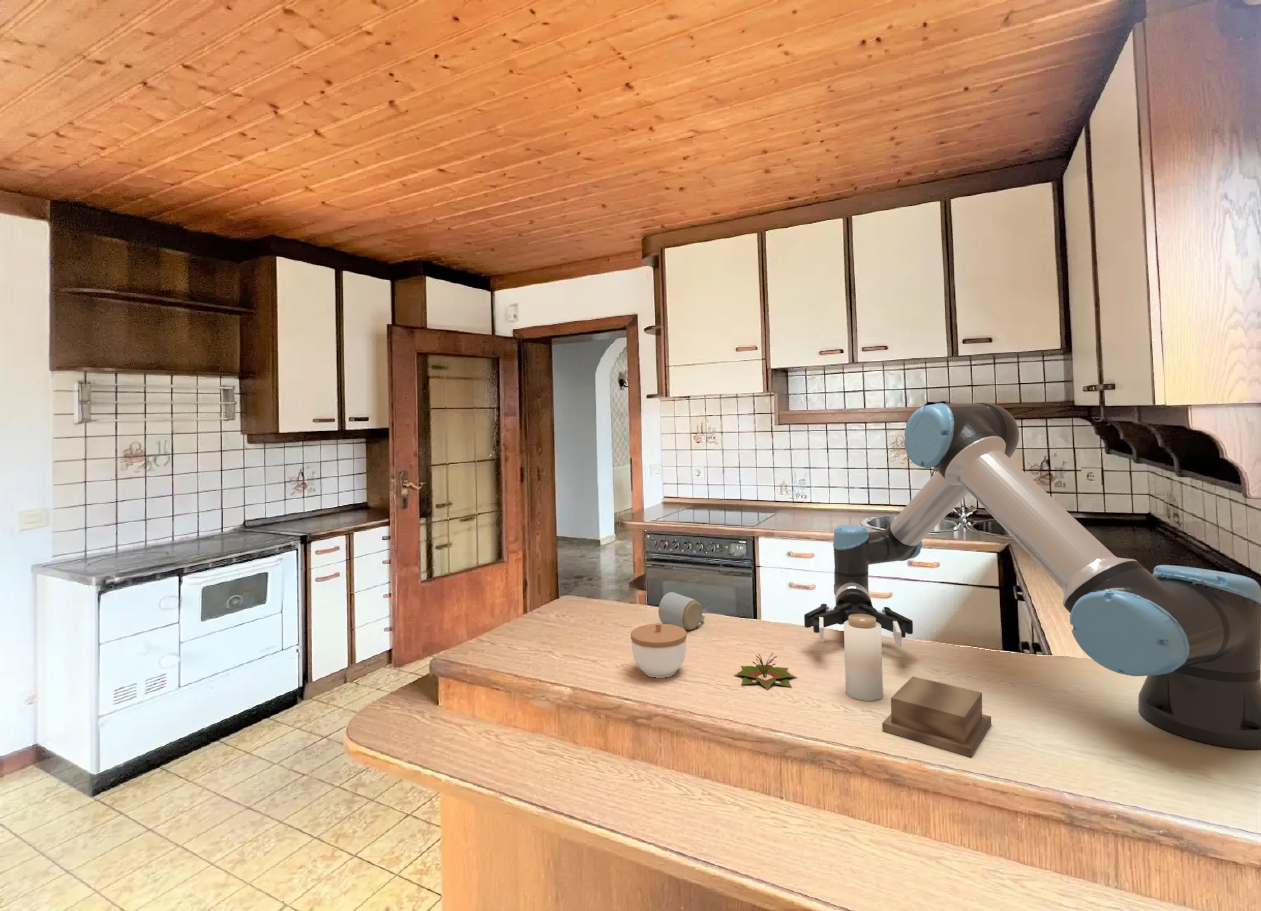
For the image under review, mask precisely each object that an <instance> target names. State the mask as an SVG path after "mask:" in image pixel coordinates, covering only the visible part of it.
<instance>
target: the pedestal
mask: <svg viewBox="0 0 1261 911" xmlns="http://www.w3.org/2000/svg"><path fill="white" fill-rule="evenodd" d="M890 709H891V710H890V712H891V713H890V714H889V715H888V716H887V717H886V719H884V721H883V722H882V723H881V725H882V727H881V728H882V730H881V731H883V732H885V733H889V734H890V735H891V734H892V735H895V736H899V737H902V738H906V739H908V740H912V741H915V742H918V743H921V744H925V745H929V746H932V747H935V748H938V749H941V750H945V751H949V752H952V753H955V754H959V755H963V756H966V757H968V758H972V757H973V755H974V754H975V751H976V750H977V749H978V746H979V745H980V743H981V742H982V740H983V738H984V737H985V735H986V734H987V732H988V730H989V728H990V727H991V726H992V716H991V715H986V714H984V713H983V692H981V691H977V690H972V689H970V688H969V689H968V688H966V687H965V688H964V687H960V686H957V685H952V684H948V683H947V684H946V683H942V682H938V681H934V680H930V679H926V678H922V677H917V676H911V677H910V678H909V679H908V680H907V681H906V682H905V683H904V684H903V685H902V686H901V687H900V689H898V690H897V691H896V692H895V693H894V694H893V695H892V696H891V697H890Z"/></svg>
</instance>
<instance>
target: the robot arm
mask: <svg viewBox="0 0 1261 911" xmlns="http://www.w3.org/2000/svg"><path fill="white" fill-rule="evenodd" d="M903 435H904V440H903V444H904V449H905V450H904V451H905V453H906V455H907V457H908V458H909V460H910V461H911V462H912V463H913V464H914V465H916V466H918V467H921V468H924V469H931V468H933V469H935V473H934V474H933V475H932V476H931V477H930V478H929V480H928V481H927V482H926V483H925V484H924V485H923V487H921V489H920V490H919V491H918V492H917V493H916V495H915V496H913V498H912V499H911V500H910V501H909V502H908V503H907V504H906V505H905V506H904V508H903V509H902V510H901V511H900V512H899V514H897V516H896V517H895V518H893V521H892V522H891V523H890V524H889V525H888V526H887V527H886V528H885V529H883V530H878V531H871V532H870V531H868V529H867V527H866V526H863V525H858V524H845V525H843V524H842V525H838V526H837V527H835V529H834V532H833V541H832V542H833V543H832V546H833V558H834V560H833V561H834V572H833V574H834V576H833V579H834V583H833V593H834V594H833V595H834V600H835V601H834V602H835V606H834V607H829V605H828V604H826V603H821V604H820V606H818V607H817V608H814V609H813V610H811V611H808V612H807V613H805V614H804V617H803V619H804V620H803V621H804V622H803V623H804V625H803V626H804V628H807V629H808V628H812V629H813V630H812V631H813V633H815V634H819V642H822V643H824V642H825V637H824V635H825V632H824V628H827V627H830V626H834V625H841V626H842V625H844V622H845V621H847V620H849V619H848V617H849V615H852V614H868V615H872V616H874V617H875V618H876V622H878V623H879V624H881V629H882V630H883V629H884V630H887V631H889V632H892V635H893V638H894V641H895V645H896V647H897V648H901V647H902V646H903V645H902V642H903V641H902V638H903V639H905V638H906V634H908V635H913V633H914V623H913V620H912V619H910V618H908V617H906V616H903V614H900V613H898V612H895V611H894V610H892V609H891V608H890V607H888V606H883V608H882V610H877V609H876V608H875V607H874V606H873V603H872V599H871V595H870V592H869V565H875V564H883V563H884V564H885V563H892V562H893V563H894V562H904V561H905V562H906V561H907V560H910V559H911V560H913V559H914V558H916V557H918V556H919V555H920V554H921V550H922V548H923V542H922V541H923V540H924V539H925V538H926V537H927V536H928V535H929V534H930V533H931V532H932V531H933V530H934V529H935V528H936V527H937V526H938V525H939V524H940V523H941V522H942V521H943V519H945V517H946V516H947V515H949V514H950V512H951V511H952V510H953V509H954V508H956V506H957V505H959V503H961V501H963V499H964V498H965V497H966V496H967V495H968V494H969V493H970V495H972V496H973V497H974V499H975V500H976V501H978V503H979V504H980V505H981V506H982V507H983V508H984V509H985V510H986V511H987V512H988V513H989V514H990V515H991V516H992V517H993V518H994V520H996V521H997V523H998V524H999V525H1001V527H1002V528H1003V529H1004V530H1005V531H1006V532H1007V533H1008V534H1009V535H1010V536H1011V537H1012V538H1013V539H1014V540H1015V541H1016V542H1017V544H1018V545H1020V546H1021V547H1022V549H1023V550H1024V551H1025V552H1026V553H1027V554H1028V555H1029V556H1030V557H1031V558H1032V559H1033V560H1034V561H1035V563H1036V564H1038V565H1039V567H1041V569H1042V570H1044V571H1045V573H1046V574H1047V575H1048V576H1049V577H1050V578H1051V579H1052V580H1053V581H1054V582H1055V583H1056V584H1057V585H1058V587H1060V589H1061V590H1062V591H1063V599H1062V606H1063V607H1064V608H1065V609H1066V610H1067V612H1069V613H1070V615H1069V623H1070V625H1072V630H1071V633H1072V636H1073V638H1074V640H1075V642H1076V643H1077V645H1078V646H1079V647H1080V648H1081V650H1082V651H1083V652H1084V653H1085V654H1086V656H1088V657H1089V658H1090V659H1091V660H1092V661H1094V662H1096V663H1097V664H1098V665H1100V666H1102V667H1104V668H1105V669H1107V670H1109V671H1112V672H1115V673H1117V674H1121V675H1125V676H1130V677H1145V676H1146V678H1145V680H1144V683H1143V685H1142V686H1141V689H1140V690H1139V693H1138V696H1137V697H1138V702H1137V704H1138V705H1137V706H1138V708H1137V709H1138V713H1139V715H1141V716H1142V717H1143V718H1144V719H1145V720H1147V721H1148V722H1150V723H1151V724H1153V725H1154V726H1157V727H1158V728H1161V729H1163V730H1166V731H1167V732H1169V733H1173V734H1175V735H1177V736H1181V737H1183V738H1186V739H1190V740H1193V741H1197V742H1202V743H1205V744H1209V745H1214V746H1220V747H1226V748H1232V749H1233V748H1234V749H1244V750H1245V749H1247V750H1259V749H1261V586H1260V584H1259V583H1258V582H1257V581H1256V580H1255V579H1254V578H1251V577H1248V576H1245V575H1241V574H1236V573H1231V572H1225V571H1218V570H1212V569H1206V568H1205V569H1204V568H1200V567H1199V568H1198V567H1191V566H1183V565H1169V564H1159V565H1156V566H1155V567H1154V568H1153V572H1152V573H1151V572H1150V571H1149V570H1147V569H1146V568H1145V567H1144V566H1143V565H1142V564H1141V563H1140V562H1139V561H1137V560H1136V559H1134V558H1124V557H1117V556H1115V555H1114V554H1113V553H1112V551H1110V550H1109V549H1108V548H1107V547H1106V546H1105V544H1103V543H1101V542H1100V541H1099V539H1097V538H1096V537H1095V536H1094V535H1093V533H1091V532H1090V531H1088V529H1087V528H1085V526H1084V525H1082V524H1081V523H1080V522H1079V521H1078V520H1077V519H1076V518H1074V516H1072V515H1071V514H1070V513H1069V512H1068V511H1067V510H1066V509H1065V508H1064V507H1063V506H1062V505H1061V504H1059V503H1058V502H1057V501H1056V500H1055V499H1054V498H1053V497H1052V496H1051V495H1050V494H1049V493H1048V492H1046V491H1045V490H1044V489H1043V487H1042V486H1040V485H1039V484H1038V483H1037V482H1035V480H1034V479H1033V478H1031V476H1030V475H1028V474H1027V473H1026V472H1025V471H1024V470H1023V469H1022V468H1021V467H1020V466H1019V465H1017V463H1015V462H1014V461H1013V460H1012V459H1011V458H1012V456H1013V454H1014V453H1015V451H1016V450H1017V447H1018V444H1019V441H1020V440H1019V439H1020V431H1019V425H1018V423H1017V421H1016V419H1015V417H1014V416H1013V415H1012V414H1011V412H1009V411H1008V410H1006V409H1005V408H1004V407H1002V406H999V405H997V404H994V403H989V402H976V403H975V402H974V403H972V402H971V403H966V402H965V403H963V402H961V403H943V402H938V403H934V404H926V405H924V406H921V407H919V408H918V409H916V410H915V411H914V412H913V413H912V414H911V415H910V417H909V419H908V420H907V422H906V426H905V429H904V433H903Z"/></svg>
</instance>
